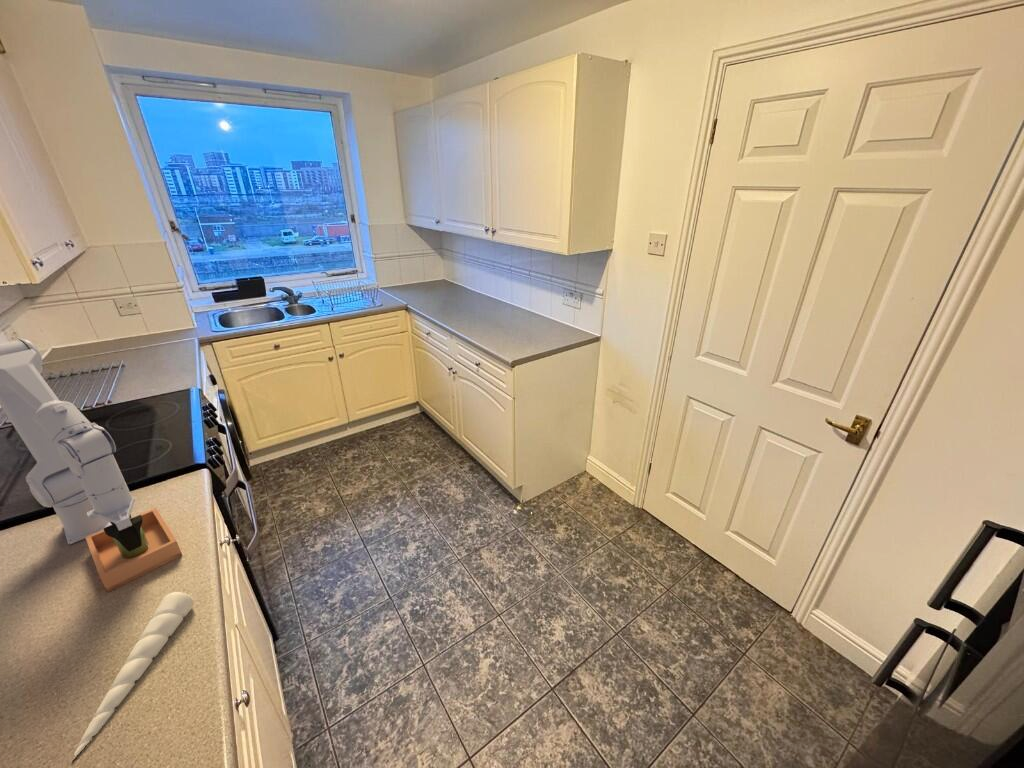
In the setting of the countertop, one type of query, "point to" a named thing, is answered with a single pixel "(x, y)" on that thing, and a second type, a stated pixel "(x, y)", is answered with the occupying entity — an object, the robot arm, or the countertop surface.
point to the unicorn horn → (140, 657)
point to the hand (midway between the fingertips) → (130, 538)
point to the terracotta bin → (125, 570)
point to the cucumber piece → (135, 552)
